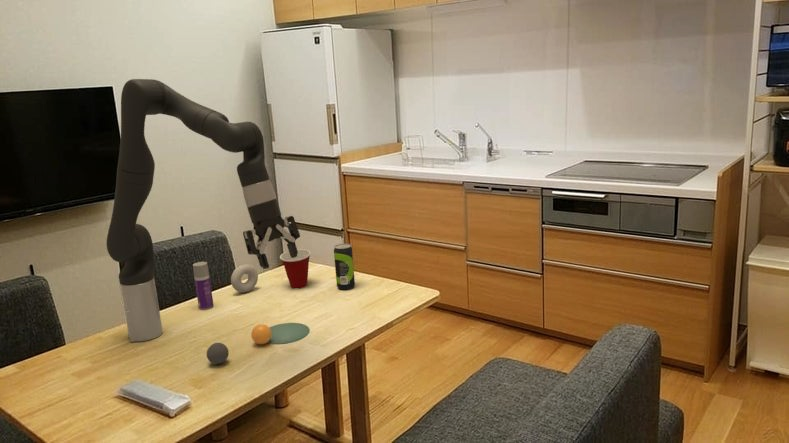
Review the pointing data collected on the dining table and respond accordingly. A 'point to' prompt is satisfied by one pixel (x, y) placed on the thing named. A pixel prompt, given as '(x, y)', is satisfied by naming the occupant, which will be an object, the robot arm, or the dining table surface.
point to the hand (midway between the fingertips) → (280, 262)
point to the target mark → (288, 333)
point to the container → (203, 285)
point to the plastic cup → (296, 267)
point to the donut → (239, 273)
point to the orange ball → (261, 334)
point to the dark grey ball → (217, 353)
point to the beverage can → (344, 266)
